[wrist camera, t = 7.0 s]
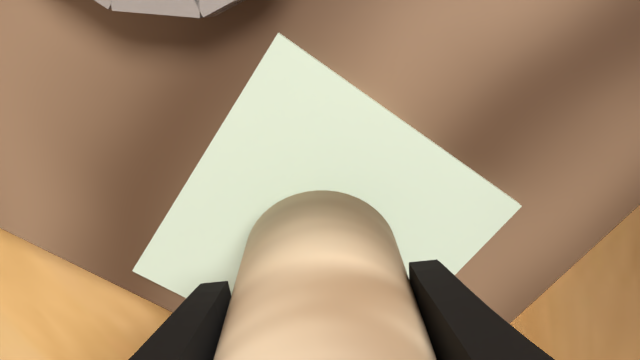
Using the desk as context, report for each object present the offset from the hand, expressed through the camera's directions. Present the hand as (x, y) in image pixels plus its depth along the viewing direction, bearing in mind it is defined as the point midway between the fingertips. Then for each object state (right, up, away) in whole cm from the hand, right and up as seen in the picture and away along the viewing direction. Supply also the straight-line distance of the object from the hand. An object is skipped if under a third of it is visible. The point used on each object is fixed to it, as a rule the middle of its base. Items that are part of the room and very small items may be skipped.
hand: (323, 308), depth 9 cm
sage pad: (0, +1, +3) cm, 3 cm away
